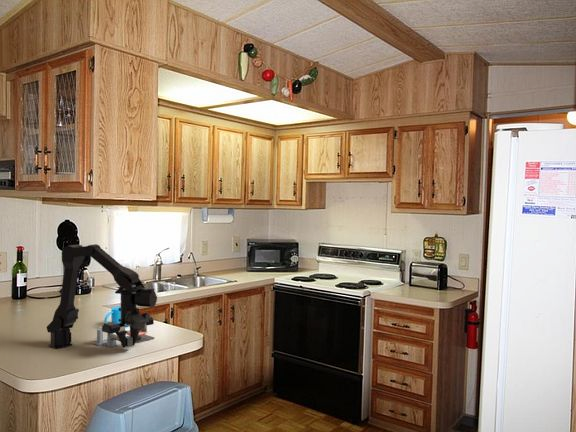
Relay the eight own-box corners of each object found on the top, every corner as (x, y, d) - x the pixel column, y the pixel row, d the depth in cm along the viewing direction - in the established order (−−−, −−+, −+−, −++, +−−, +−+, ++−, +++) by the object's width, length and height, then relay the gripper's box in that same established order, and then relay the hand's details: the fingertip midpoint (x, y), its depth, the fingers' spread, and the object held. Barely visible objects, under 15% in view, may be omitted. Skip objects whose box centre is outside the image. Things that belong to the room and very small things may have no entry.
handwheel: (123, 337, 196) (123, 323, 196) (131, 332, 204) (131, 318, 204) (142, 338, 195) (142, 324, 195) (150, 333, 203) (150, 319, 203)
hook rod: (127, 347, 182) (127, 338, 181) (108, 340, 190) (108, 332, 190) (132, 345, 183) (132, 337, 183) (113, 339, 191) (113, 331, 191)
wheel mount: (133, 344, 193) (133, 341, 192) (119, 339, 199) (119, 336, 199) (154, 338, 200) (154, 335, 200) (140, 334, 207) (140, 331, 207)
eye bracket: (104, 348, 187) (104, 333, 187) (94, 344, 192) (94, 329, 192) (121, 344, 192) (121, 329, 192) (110, 340, 197) (110, 326, 197)
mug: (123, 323, 226) (123, 305, 226) (134, 325, 221) (134, 308, 220) (99, 328, 217) (99, 309, 216) (109, 331, 211) (109, 312, 211)
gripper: (118, 313, 170) (118, 357, 171) (162, 304, 185) (162, 345, 185) (101, 308, 177) (101, 350, 178) (145, 300, 192) (145, 339, 192)
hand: (128, 346), depth 183 cm, fingers open, 3 cm apart
